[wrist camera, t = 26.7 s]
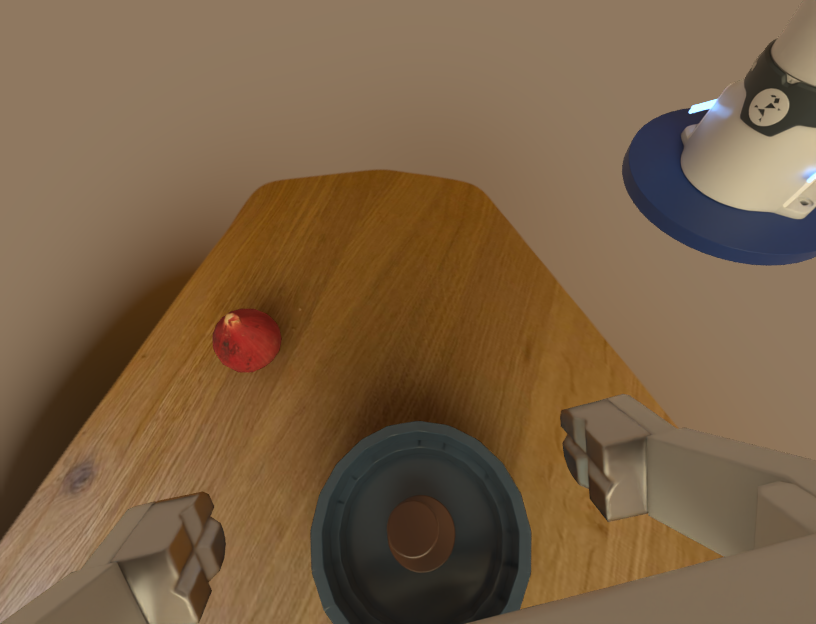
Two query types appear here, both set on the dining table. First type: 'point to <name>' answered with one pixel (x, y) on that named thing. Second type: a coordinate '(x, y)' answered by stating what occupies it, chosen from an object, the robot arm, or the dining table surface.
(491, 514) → the bowl
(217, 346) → the onion
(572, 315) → the dining table surface
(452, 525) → the upright rod on disc
